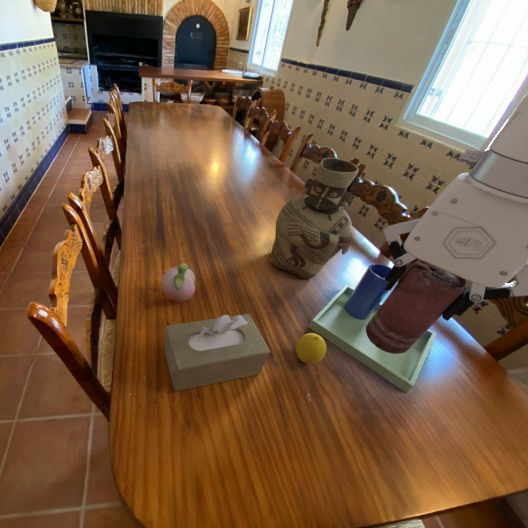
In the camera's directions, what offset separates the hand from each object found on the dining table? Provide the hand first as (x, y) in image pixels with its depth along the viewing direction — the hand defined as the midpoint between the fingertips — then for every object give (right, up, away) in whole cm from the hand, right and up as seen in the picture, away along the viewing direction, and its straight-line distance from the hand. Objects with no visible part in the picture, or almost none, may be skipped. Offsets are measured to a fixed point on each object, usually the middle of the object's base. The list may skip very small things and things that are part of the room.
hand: (417, 298), depth 41 cm
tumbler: (+13, -8, +35) cm, 38 cm away
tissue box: (-26, -16, +21) cm, 37 cm away
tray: (+13, -12, +30) cm, 35 cm away
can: (-1, -7, +6) cm, 9 cm away
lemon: (-6, -16, +23) cm, 29 cm away
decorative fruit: (-33, -4, +35) cm, 48 cm away
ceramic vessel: (+4, +6, +51) cm, 51 cm away
